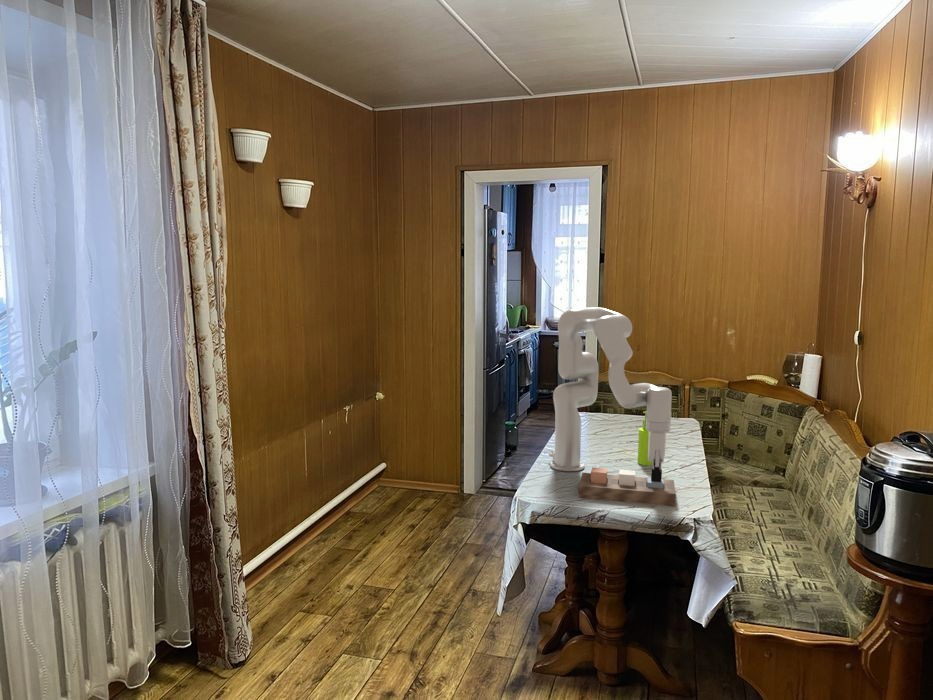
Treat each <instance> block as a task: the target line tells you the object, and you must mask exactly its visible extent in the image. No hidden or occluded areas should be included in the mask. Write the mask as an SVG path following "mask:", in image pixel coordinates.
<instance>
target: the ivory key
mask: <svg viewBox="0 0 933 700" xmlns="http://www.w3.org/2000/svg"><path fill="white" fill-rule="evenodd" d="M618 475H619V485H627V486H635V477H636V470H630V469H619V472H618Z"/></svg>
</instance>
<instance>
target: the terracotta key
mask: <svg viewBox="0 0 933 700" xmlns="http://www.w3.org/2000/svg"><path fill="white" fill-rule="evenodd" d="M590 473H591V482H592V483H604V484H606V483H607V475H608V468H605V467H604V468H603V467H595V466H592V467H591V471H590Z"/></svg>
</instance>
